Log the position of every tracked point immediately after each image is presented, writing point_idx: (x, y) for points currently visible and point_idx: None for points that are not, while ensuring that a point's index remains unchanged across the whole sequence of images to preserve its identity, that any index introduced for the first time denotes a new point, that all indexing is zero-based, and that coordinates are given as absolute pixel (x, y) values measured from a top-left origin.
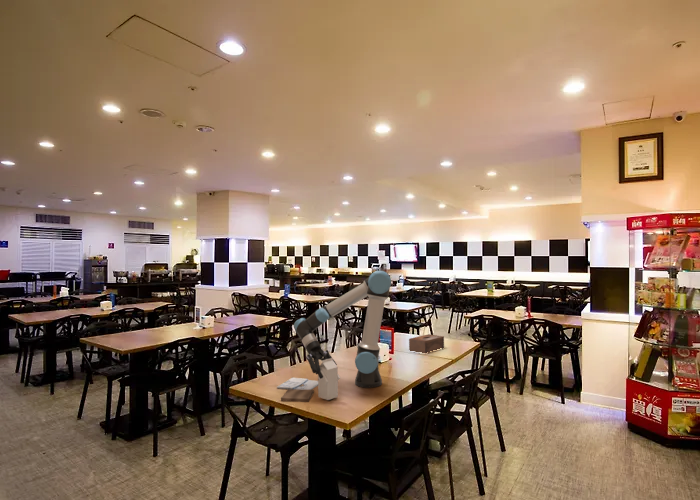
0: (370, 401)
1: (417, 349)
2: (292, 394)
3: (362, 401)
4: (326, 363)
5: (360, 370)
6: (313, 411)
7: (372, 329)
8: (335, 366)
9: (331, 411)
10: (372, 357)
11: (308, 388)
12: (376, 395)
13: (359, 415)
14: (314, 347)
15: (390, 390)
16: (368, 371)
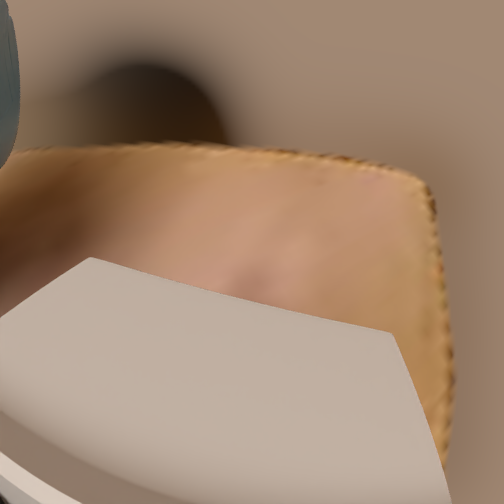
0: (157, 181)
1: None
2: None
3: (170, 211)
4: (315, 457)
5: (4, 152)
6: (437, 367)
7: None
8: (115, 278)
9: (387, 286)
10: (6, 11)
11: None
12: (69, 193)
13: (342, 163)
14: None
15: (8, 176)
16: (18, 118)
